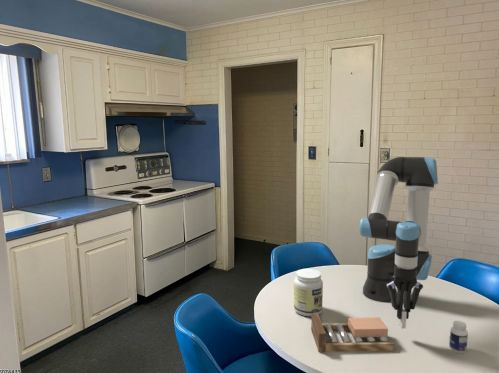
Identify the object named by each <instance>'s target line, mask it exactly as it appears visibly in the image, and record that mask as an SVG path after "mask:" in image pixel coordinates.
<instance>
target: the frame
mask: <svg viewBox="0 0 499 373" xmlns="http://www.w3.org/2000/svg"><path fill="white" fill-rule="evenodd" d="M322 322H323V321H322V320H321V318H320V316H319V314H318V313H312V316H311V328H310V329H311V333H312V336H313V339H314V342H315V345H316V349H317V351H318V353H333V352H334V353H338V352H340V353H341V352H343V353H344V352H345V353H346V352H383V351H384V352H385V351H387V352H389V351H394V349H395V348H394V346H395V345H394V342H393V341H388V342H381V341H376V342H368V341H363V342H359V343H356V342H350V343H343V342H338V343H331V342H327V341H326V339H327V332H326V330H325V327H324V326H325V325H326V324H327V323H322ZM329 324H330V326H331V328H332V330H333V332H338V330H337V328H336V325H337V324H339V322H335V323H333V322H332V323H329ZM340 324H342V326H343V328H344V330H345V332H350V330H349V328H348V322H346V323H345V322H342V323H340Z"/></svg>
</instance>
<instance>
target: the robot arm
mask: <svg viewBox="0 0 499 373" xmlns="http://www.w3.org/2000/svg"><path fill="white" fill-rule="evenodd" d="M437 164H438V163H437V160H436V159H435V158H433V157H428V156H427V157H426V156H424V157H419V156H418V157H417V156H412V157H411V156H396V157H393V158H391V159H389V160H388V161H386V162H384V163H383V165H381V167H380V168H379V170H378V171H377V174H376V177H375V180H376V186H375V190H374V193H373V196H372V201H371V205H370V208H369V212H368V215H367V217H362V218H361V219H360V222H359V226H358V228H359V230H358V231H359V235H360V236H361V237H364V238H370V239H380V240H388V241H393V242H394V241H395V245H391V244H383V243H382V244H376V245H372V246H370V247H369V249H368V254H367V272H366V273H367V274H366V275H367V276H366V278H365V281H364V284H363V287H362V295H364V297H366V298H367V299H371V300H373V301H378V302H391V306H392V308H393V309H394V311H396V317H397V319H398V326H399V327H400V329H406V327H407V320H408V319H409V318H410V317H409V316H410V315H409V314H410V313H411V311H412V310H415V309H416V306H417V303H418V299H419V296H420V292H421V291H422V289H423V288H424V285H423V284H422V283H421V282H420V281H426V280H428V277H429V273H430V267H431V263H432V260H433V255H432V254H430V249H429V248H428V247H427V246H426V245H427V236H428V235H427V233H428V219H429V210H430V209H429V206H430V194H431V191H432V190H434V189H435V186H436V185H438V184H439V181H438V179H439V177H438V166H437ZM399 183H404V184H405V188H406V189H407V190H408V197H407V198H408V199H407V209H406V210H407V211H406V221H399V220H388V219H389V216H390V215H389V214H390V211H391V210H390V209H391V206H392V201H393V198H394V191H395V187H396V186H397V185H398V184H399ZM412 289H413V290H412Z"/></svg>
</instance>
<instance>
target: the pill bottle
mask: <svg viewBox="0 0 499 373" xmlns="http://www.w3.org/2000/svg"><path fill="white" fill-rule="evenodd" d="M449 331H450V332H449V343H448V344H449V346H448V347H449V349H450V350H452V351H453V352H455V353H458V354H459V353H460V354H463V353H466V352H467V349H468V337H469V332H468V330H467V323H466V322H464V321H462V320H454V321H453V323H452V326H451V327H450V330H449Z"/></svg>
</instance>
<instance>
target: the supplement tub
mask: <svg viewBox="0 0 499 373" xmlns="http://www.w3.org/2000/svg"><path fill="white" fill-rule="evenodd" d="M323 282H324V281H323V280H322V273H321V272H320V271H319V270H316V269H313V268H302V269H298V270H297V271H296V275H295V278H294V281H293V310H294V311H295V312H296V313H297V314H298V315H300V316H303V317H312V313H318V315H319V314H321V313H322V311H323V298H324V297H323V294H324V293H323V291H324V283H323Z"/></svg>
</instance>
